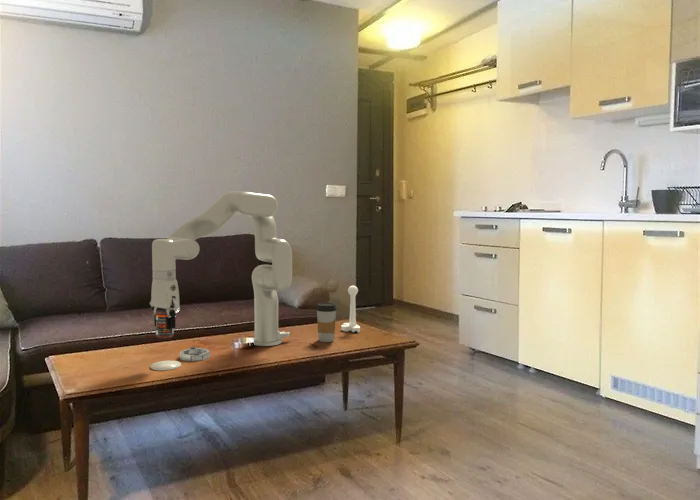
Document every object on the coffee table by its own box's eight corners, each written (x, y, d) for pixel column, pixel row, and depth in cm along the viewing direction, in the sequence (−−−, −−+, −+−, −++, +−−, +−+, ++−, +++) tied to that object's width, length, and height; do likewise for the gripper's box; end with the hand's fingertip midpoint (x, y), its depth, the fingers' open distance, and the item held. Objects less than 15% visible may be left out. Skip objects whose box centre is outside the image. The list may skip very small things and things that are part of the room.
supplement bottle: (155, 339, 197) (155, 306, 196) (155, 335, 203) (155, 303, 202) (174, 338, 199) (173, 305, 198) (173, 334, 205) (173, 302, 204)
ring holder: (206, 352, 220) (206, 345, 220) (211, 359, 211) (211, 352, 211) (178, 355, 216) (178, 348, 216) (182, 362, 207) (182, 355, 207)
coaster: (179, 361, 209) (178, 359, 209) (182, 368, 199) (182, 366, 199) (149, 364, 205) (149, 362, 205) (152, 371, 195) (152, 370, 195)
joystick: (362, 332, 255) (362, 287, 254) (346, 333, 252) (346, 288, 251) (352, 327, 266) (352, 283, 264) (336, 328, 263) (337, 284, 261)
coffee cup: (334, 343, 236) (334, 306, 235) (314, 342, 237) (314, 305, 236) (338, 338, 244) (338, 302, 243) (318, 337, 245) (318, 302, 244)
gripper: (189, 276, 197) (189, 328, 199) (158, 272, 207) (159, 322, 209) (170, 278, 191) (171, 332, 193) (139, 274, 201) (140, 325, 203)
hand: (165, 326), depth 201 cm, fingers closed on supplement bottle, 6 cm apart
